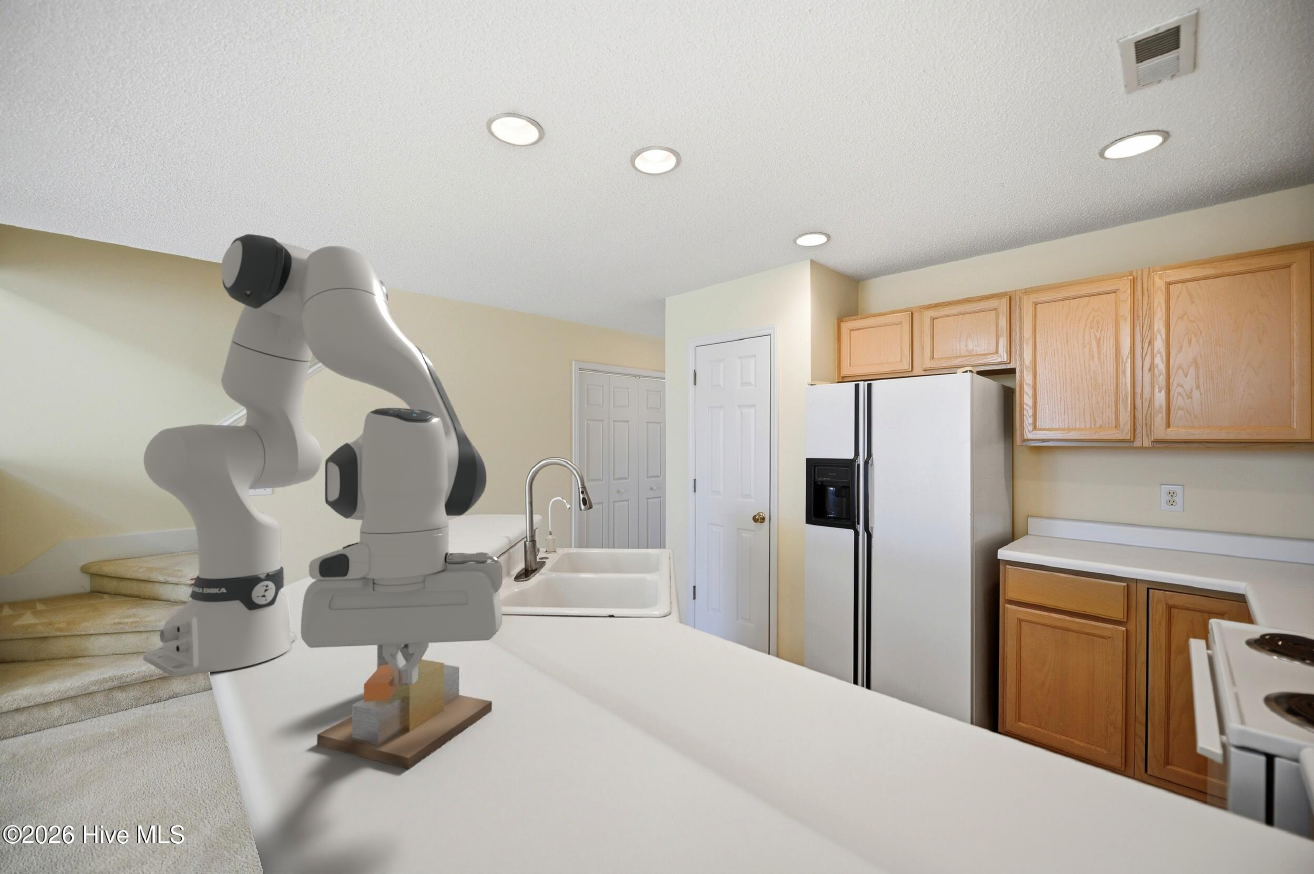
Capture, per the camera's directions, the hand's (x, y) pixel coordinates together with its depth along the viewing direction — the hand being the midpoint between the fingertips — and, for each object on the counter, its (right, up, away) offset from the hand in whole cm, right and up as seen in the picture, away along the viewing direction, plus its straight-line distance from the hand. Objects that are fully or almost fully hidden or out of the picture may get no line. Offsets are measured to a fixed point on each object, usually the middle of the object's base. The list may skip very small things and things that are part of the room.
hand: (405, 682), depth 58 cm
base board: (-4, -10, +9) cm, 13 cm away
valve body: (-4, -8, +9) cm, 13 cm away
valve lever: (-3, -1, +4) cm, 5 cm away
